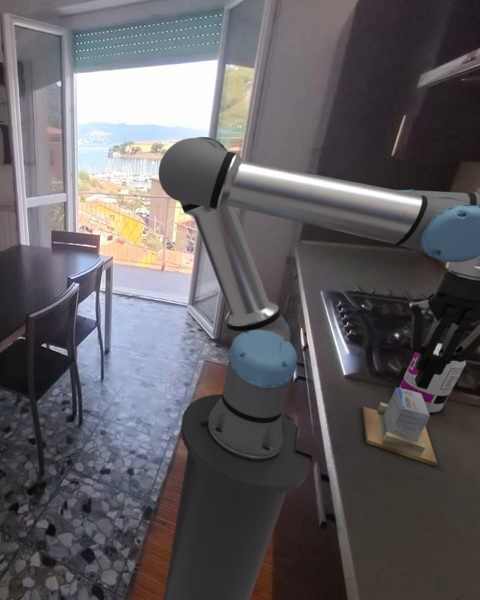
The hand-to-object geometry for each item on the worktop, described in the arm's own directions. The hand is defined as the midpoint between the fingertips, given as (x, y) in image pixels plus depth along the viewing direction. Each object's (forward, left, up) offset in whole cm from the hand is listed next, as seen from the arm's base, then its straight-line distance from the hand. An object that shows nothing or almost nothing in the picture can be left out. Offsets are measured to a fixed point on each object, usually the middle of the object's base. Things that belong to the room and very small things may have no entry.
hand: (420, 384), depth 71 cm
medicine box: (0, 0, -13) cm, 13 cm away
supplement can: (+6, +16, -14) cm, 22 cm away
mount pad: (0, 0, -14) cm, 14 cm away
